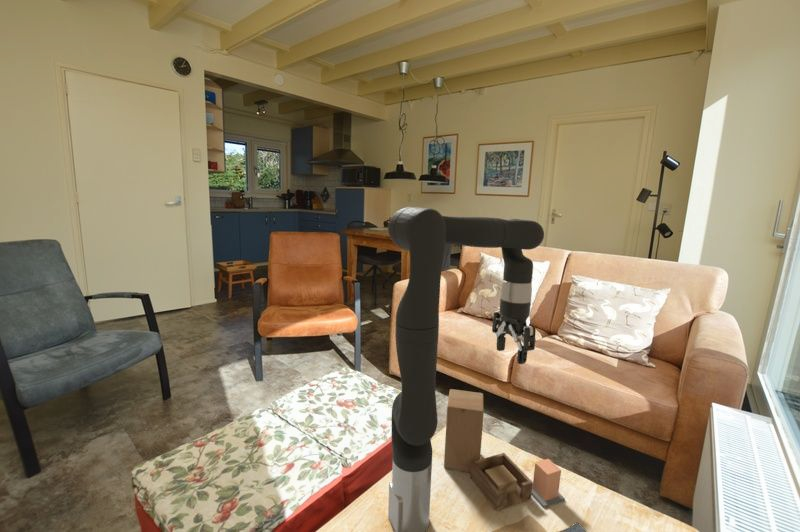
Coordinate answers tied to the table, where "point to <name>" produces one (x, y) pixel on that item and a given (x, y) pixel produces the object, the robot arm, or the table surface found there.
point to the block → (546, 479)
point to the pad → (548, 502)
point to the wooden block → (463, 429)
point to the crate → (501, 481)
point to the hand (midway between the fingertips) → (510, 356)
